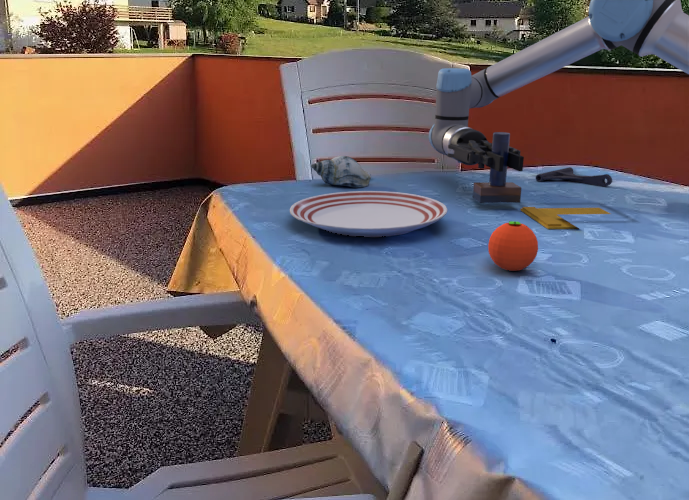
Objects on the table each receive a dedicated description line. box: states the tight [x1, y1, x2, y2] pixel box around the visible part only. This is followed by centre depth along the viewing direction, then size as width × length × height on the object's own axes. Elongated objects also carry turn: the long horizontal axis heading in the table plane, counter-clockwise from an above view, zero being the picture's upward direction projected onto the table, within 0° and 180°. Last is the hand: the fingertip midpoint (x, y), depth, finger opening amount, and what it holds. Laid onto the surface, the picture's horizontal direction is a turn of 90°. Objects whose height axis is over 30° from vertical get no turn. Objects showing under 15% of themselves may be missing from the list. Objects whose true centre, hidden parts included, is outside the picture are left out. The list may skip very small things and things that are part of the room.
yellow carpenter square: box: [520, 206, 612, 230], centre depth 131 cm, size 16×14×1 cm
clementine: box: [487, 220, 539, 272], centre depth 101 cm, size 8×7×7 cm
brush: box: [472, 131, 522, 204], centre depth 137 cm, size 8×5×13 cm, turn 97°
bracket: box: [535, 167, 613, 187], centre depth 165 cm, size 14×15×3 cm
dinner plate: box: [289, 190, 448, 238], centre depth 124 cm, size 28×27×3 cm
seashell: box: [310, 155, 372, 189], centre depth 156 cm, size 6×8×12 cm
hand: (511, 164), depth 131 cm, fingers closed on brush, 3 cm apart
